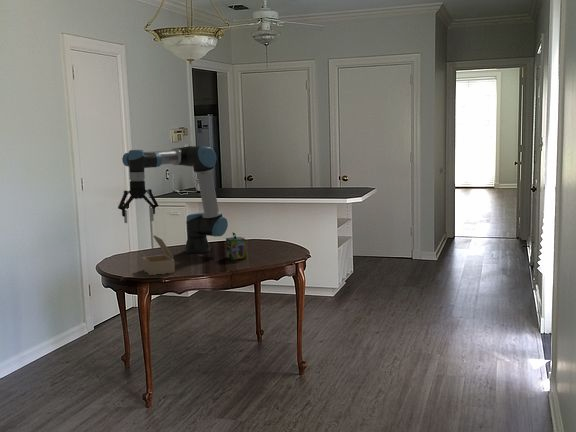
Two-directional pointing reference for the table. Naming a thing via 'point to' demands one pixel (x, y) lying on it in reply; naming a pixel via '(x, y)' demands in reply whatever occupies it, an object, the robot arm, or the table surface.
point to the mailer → (158, 264)
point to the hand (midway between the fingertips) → (139, 221)
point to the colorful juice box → (236, 247)
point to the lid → (163, 246)
